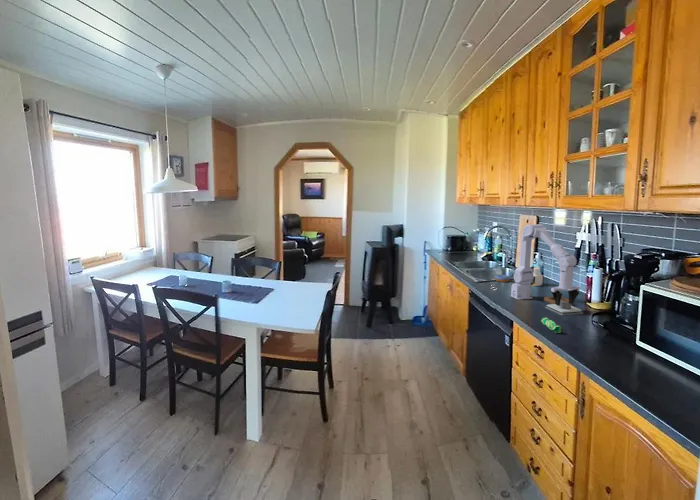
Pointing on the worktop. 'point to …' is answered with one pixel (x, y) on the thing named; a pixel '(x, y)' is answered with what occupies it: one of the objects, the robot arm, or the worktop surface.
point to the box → (552, 300)
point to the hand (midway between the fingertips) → (564, 304)
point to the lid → (564, 307)
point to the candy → (551, 325)
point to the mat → (564, 313)
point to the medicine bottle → (536, 277)
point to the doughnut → (501, 278)
